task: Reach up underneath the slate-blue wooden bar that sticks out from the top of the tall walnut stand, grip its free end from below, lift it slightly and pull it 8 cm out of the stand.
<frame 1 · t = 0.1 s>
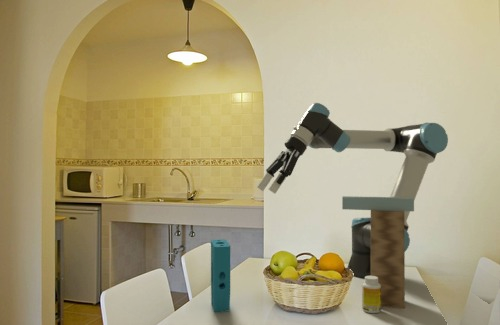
hand: (265, 190, 139), 36 cm above the table, tool tilted 35°, fingers open, 13 cm apart
bar: (377, 209, 131), point 30 cm above the table, touching walnut stand
block: (220, 307, 126), on the table
walnut stand: (387, 302, 130), on the table
supplement bottle: (371, 311, 122), on the table
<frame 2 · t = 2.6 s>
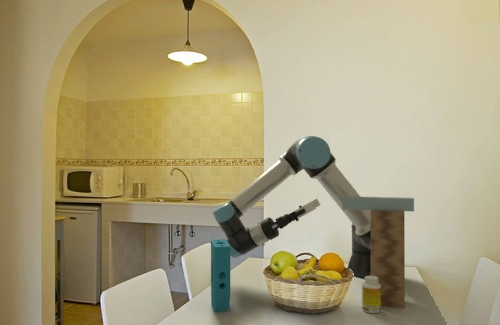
hand: (316, 203, 139), 31 cm above the table, tool pointing upward, fingers open, 13 cm apart
nothing on the table moved.
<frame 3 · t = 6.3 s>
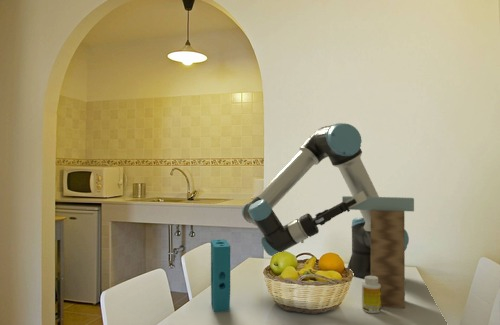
hand: (364, 195, 132), 35 cm above the table, tool pointing upward, fingers closed on bar, 4 cm apart
bar: (377, 209, 131), point 30 cm above the table, touching gripper, walnut stand
everything else where it was.
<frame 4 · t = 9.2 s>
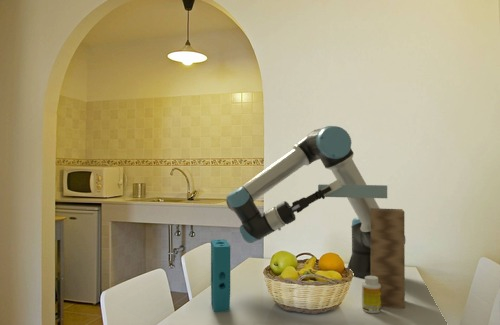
hand: (340, 182, 134), 39 cm above the table, tool pointing upward, fingers closed on bar, 4 cm apart
bar: (352, 197, 133), point 34 cm above the table, touching gripper
everything else where it was.
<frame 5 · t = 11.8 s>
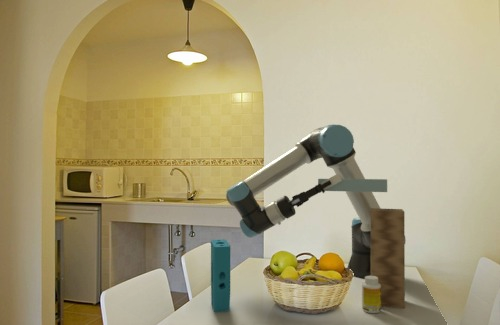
hand: (340, 176, 134), 41 cm above the table, tool pointing upward, fingers closed on bar, 4 cm apart
bar: (352, 191, 133), point 36 cm above the table, touching gripper
everything else where it was.
at the end: bar moved 9.9 cm from its start; the gripper is holding bar; bar point 35.9 cm above the table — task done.
